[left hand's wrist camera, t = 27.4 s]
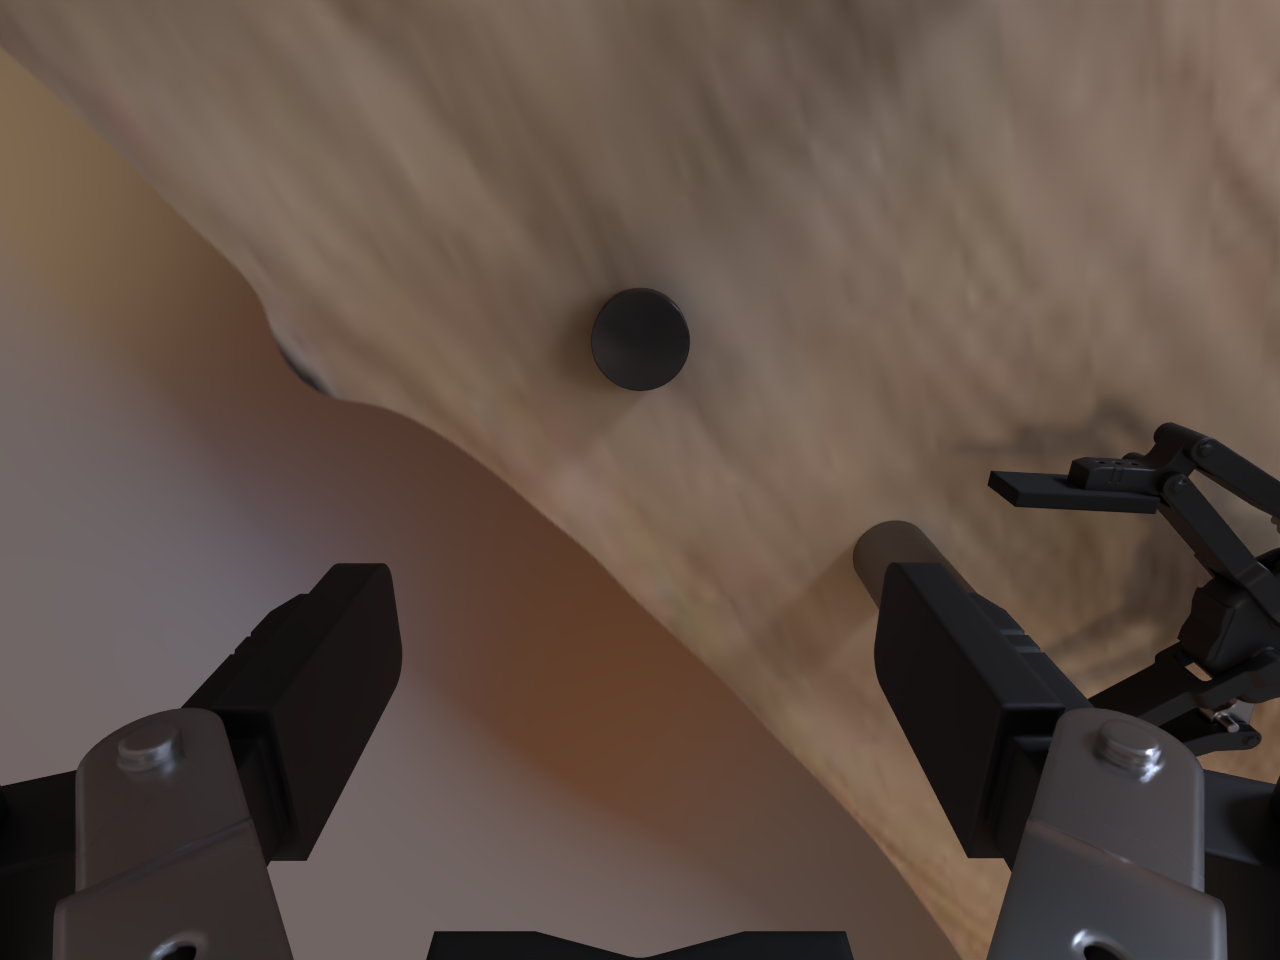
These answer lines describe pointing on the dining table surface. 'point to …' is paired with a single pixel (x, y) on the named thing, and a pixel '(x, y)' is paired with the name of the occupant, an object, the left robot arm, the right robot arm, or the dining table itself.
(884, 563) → the brown long cylinder
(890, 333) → the dining table surface
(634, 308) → the lid
